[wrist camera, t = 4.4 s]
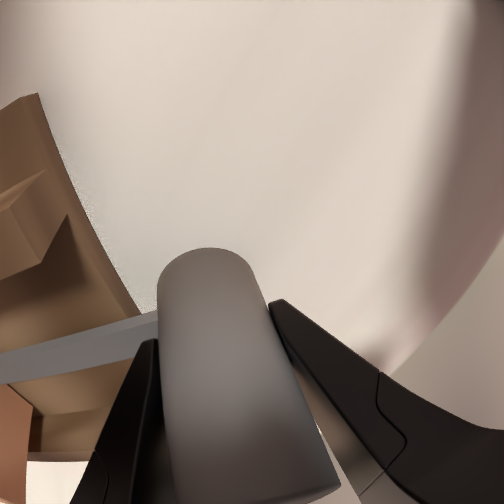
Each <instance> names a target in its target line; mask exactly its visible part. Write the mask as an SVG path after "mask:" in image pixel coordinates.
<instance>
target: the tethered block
mask: <svg viewBox="0 0 504 504" xmlns="http://www.w3.org/2000/svg"><path fill="white" fill-rule="evenodd" d="M152 338H156V339H157V340H158V344H159V362H160V377H161V390H162V401H163V411H164V421H165V430H166V438H167V446H168V453H169V460H170V467H171V473H172V480H173V486H174V491H175V497H176V502H177V504H308V503H311V502H313V501H315V500H318V499H320V498H322V497H324V496H326V495H328V494H330V493H332V492H334V491H335V490H337V489H338V488H339V487H340V486H341V483H340V480H339V478H338V476H337V473H336V471H335V468H334V466H333V464H332V461H331V459H330V457H329V454H328V452H327V449H326V447H325V445H324V442H323V440H322V438H321V435H320V433H319V430H318V428H317V426H316V423H315V421H314V419H313V416H312V414H311V411H310V409H309V407H308V404H307V402H306V399H305V397H304V395H303V392H302V390H301V387H300V385H299V383H298V380H297V378H296V375H295V373H294V371H293V368H292V366H291V363H290V361H289V359H288V356H287V354H286V351H285V349H284V347H283V344H282V342H281V339H280V337H279V334H278V332H277V330H276V327H275V325H274V322H273V320H272V318H271V315H270V313H269V310H268V308H267V305H266V303H265V301H264V298H263V296H262V293H261V291H260V288H259V286H258V283H257V281H256V279H255V276H254V274H253V271H252V269H251V267H250V266H249V264H248V263H247V262H246V261H245V260H244V259H243V258H242V257H240V256H239V255H237V254H235V253H233V252H231V251H228V250H225V249H220V248H201V249H196V250H192V251H189V252H186V253H184V254H182V255H180V256H178V257H177V258H175V259H174V260H172V261H171V262H170V263H169V264H168V265H167V266H166V267H165V269H164V270H163V272H162V273H161V275H160V277H159V280H158V284H157V310H155V311H152V312H148V313H145V314H142V315H138V316H135V317H131V318H128V319H125V320H121V321H118V322H114V323H111V324H107V325H104V326H100V327H97V328H93V329H90V330H86V331H83V332H79V333H75V334H72V335H68V336H65V337H61V338H57V339H54V340H50V341H46V342H42V343H39V344H35V345H31V346H27V347H24V348H20V349H16V350H12V351H8V352H4V353H0V502H2V503H6V504H26V467H27V453H28V442H29V433H30V425H31V417H32V411H33V406H32V405H30V404H29V403H28V402H27V401H26V400H24V399H23V398H22V397H21V396H20V395H18V394H17V393H16V392H15V391H14V390H13V389H11V388H10V387H9V386H8V385H7V384H9V383H15V382H21V381H27V380H32V379H38V378H43V377H48V376H53V375H58V374H63V373H68V372H73V371H78V370H82V369H87V368H91V367H96V366H100V365H104V364H109V363H113V362H117V361H121V360H125V359H129V358H133V357H135V355H136V353H137V350H138V348H139V346H140V344H141V343H142V342H143V341H145V340H149V339H152Z"/></svg>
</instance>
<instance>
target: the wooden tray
mask: <svg viewBox="0 0 504 504" xmlns="http://www.w3.org/2000/svg"><path fill="white" fill-rule="evenodd" d="M138 315H141V313H140V311H139V310H138V308H137V307H136V305H135V303H134V302H133V300H132V298H131V297H130V295H129V293H128V292H127V290H126V288H125V287H124V285H123V283H122V281H121V280H120V278H119V276H118V274H117V273H116V271H115V269H114V267H113V266H112V264H111V262H110V260H109V258H108V256H107V255H106V253H105V251H104V249H103V247H102V245H101V243H100V241H99V240H98V238H97V236H96V234H95V232H94V230H93V228H92V226H91V224H90V222H89V220H88V218H87V216H86V214H85V211H84V209H83V207H82V205H81V203H80V201H79V199H78V197H77V194H76V192H75V190H74V188H73V186H72V183H71V181H70V179H69V176H68V174H67V172H66V169H65V167H64V165H63V162H62V160H61V157H60V155H59V152H58V150H57V147H56V145H55V142H54V139H53V137H52V134H51V131H50V129H49V126H48V123H47V120H46V117H45V114H44V111H43V109H42V106H41V102H40V99H39V96H38V93H35V94H31V95H27V96H24V97H20V98H19V99H17V100H16V101H14V102H12V103H11V104H9V105H8V106H6V107H5V108H3V109H2V110H0V353H4V352H8V351H12V350H16V349H20V348H24V347H27V346H31V345H35V344H39V343H42V342H46V341H50V340H54V339H57V338H61V337H65V336H68V335H72V334H75V333H79V332H83V331H86V330H90V329H93V328H97V327H100V326H104V325H107V324H111V323H114V322H118V321H121V320H125V319H128V318H131V317H135V316H138ZM133 359H134V357H133V358H129V359H125V360H121V361H117V362H113V363H109V364H104V365H100V366H96V367H91V368H87V369H82V370H78V371H73V372H68V373H63V374H58V375H53V376H48V377H43V378H38V379H32V380H27V381H21V382H15V383H9V384H7V385H8V386H9V387H10V388H11V389H13V390H14V391H15V392H16V393H17V394H18V395H20V396H21V397H22V398H23V399H24V400H26V401H27V402H28V403H29V404H30V405H32V406H33V411H32V417H31V425H30V433H29V442H28V453H27V461H40V462H78V461H89V460H90V457H91V455H92V452H93V451H95V450H94V448H95V445H96V443H97V440H98V438H99V435H100V433H101V431H102V428H103V426H104V424H105V421H106V419H107V417H108V414H109V412H110V410H111V407H112V405H113V403H114V401H115V398H116V396H117V394H118V392H119V389H120V387H121V385H122V383H123V380H124V378H125V376H126V374H127V372H128V370H129V367H130V365H131V363H132V361H133Z"/></svg>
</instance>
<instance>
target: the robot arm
mask: <svg viewBox="0 0 504 504" xmlns="http://www.w3.org/2000/svg"><path fill="white" fill-rule="evenodd" d="M268 308H269V312H270V315H271V318H272V320H273V322H274V325H275V327H276V330H277V332H278V334H279V337H280V339H281V342H282V344H283V347H284V349H285V351H286V354H287V356H288V359H289V361H290V363H291V366H292V368H293V371H294V373H295V375H296V378H297V380H298V383H299V385H300V387H301V390H302V392H303V395H304V397H305V399H306V402H307V404H308V407H309V409H310V411H311V414H312V416H313V418H314V419H315V421H316V423H317V425H318V427H319V428H320V430H321V432H322V434H323V436H324V437H325V439H326V441H327V443H328V445H329V447H330V448H331V450H332V452H333V454H334V455H335V457H336V459H337V461H338V462H339V464H340V466H341V468H342V470H343V471H344V473H345V475H346V477H347V479H348V480H349V482H350V484H351V485H352V487H353V489H354V491H355V493H356V494H357V496H359V500H360V501H361V503H362V504H504V430H498V429H489V428H484V427H480V426H477V425H474V424H472V423H470V422H467V421H465V420H463V419H461V418H459V417H457V416H455V415H453V414H451V413H449V412H447V411H446V410H444V409H441V408H440V407H438V406H436V405H434V404H432V403H430V402H428V401H426V400H425V399H423V398H421V397H419V396H418V395H416V394H414V393H412V392H411V391H409V390H407V389H406V388H405V387H403V386H401V385H400V384H399V383H397V382H396V381H394V380H393V379H391V378H390V377H388V376H387V375H386V374H384V373H383V372H380V373H379V369H377V368H376V367H375V366H373V365H372V364H370V363H369V362H368V361H366V360H365V359H364V358H362V357H361V356H359V355H358V354H357V353H355V352H354V351H353V350H351V349H350V348H349V347H347V346H346V345H344V344H343V343H342V342H340V341H339V340H338V339H336V338H335V337H334V336H332V335H331V334H330V333H328V332H327V331H326V330H324V329H323V328H321V327H320V326H319V325H317V324H316V323H315V322H313V321H312V320H311V319H309V318H308V317H307V316H305V315H304V314H303V313H301V312H300V311H299V310H297V309H296V308H295V307H293V306H292V305H291V304H289V303H288V302H287V301H285V300H284V299H279V300H276V301H273V302H270V303H269V304H268ZM94 450H95V451H93V452H92V455H91V457H90V460H89V462H88V465H87V467H86V469H85V472H84V474H83V477H82V479H81V481H80V483H79V485H78V487H77V489H76V491H75V494H74V496H73V498H72V500H71V502H70V504H177V502H176V497H175V491H174V486H173V480H172V473H171V467H170V460H169V453H168V446H167V438H166V430H165V421H164V411H163V401H162V390H161V377H160V362H159V344H158V340H157V339H156V338H152V339H149V340H145V341H143V342H142V343H141V344H140V346H139V348H138V350H137V353H136V355H135V357H134V359H133V361H132V363H131V365H130V367H129V370H128V372H127V374H126V376H125V378H124V380H123V383H122V385H121V387H120V389H119V392H118V394H117V396H116V398H115V401H114V403H113V405H112V407H111V410H110V412H109V414H108V417H107V419H106V421H105V424H104V426H103V428H102V431H101V433H100V435H99V438H98V440H97V443H96V445H95V448H94Z"/></svg>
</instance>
